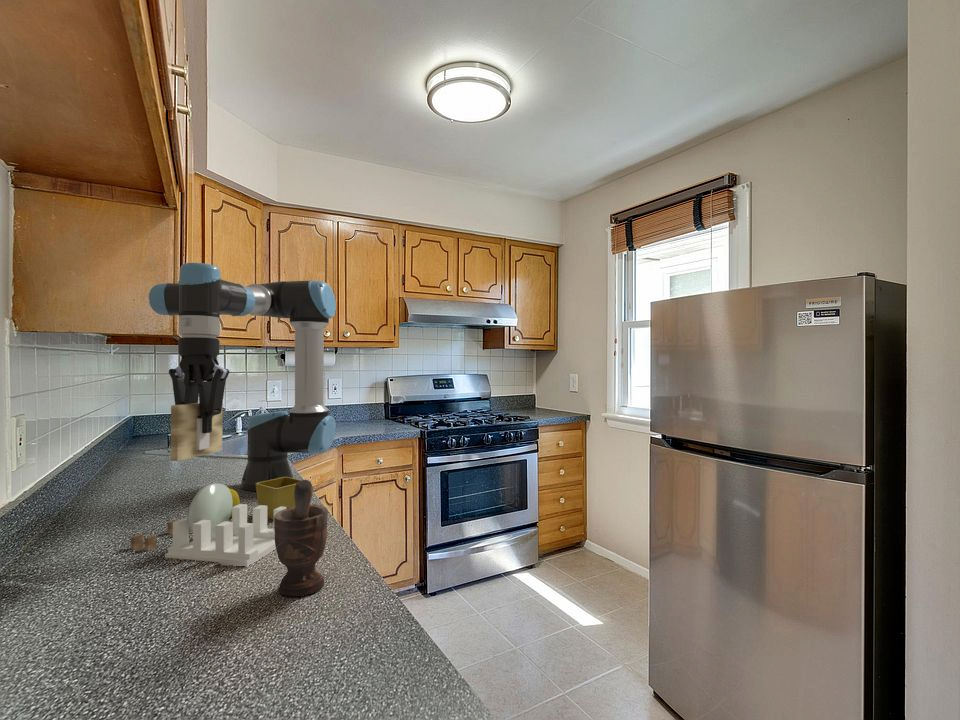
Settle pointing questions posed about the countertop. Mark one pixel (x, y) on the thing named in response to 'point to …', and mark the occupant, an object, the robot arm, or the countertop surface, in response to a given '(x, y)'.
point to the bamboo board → (192, 432)
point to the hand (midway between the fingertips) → (198, 448)
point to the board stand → (149, 539)
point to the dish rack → (226, 538)
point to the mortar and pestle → (301, 542)
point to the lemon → (234, 498)
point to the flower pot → (276, 493)
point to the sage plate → (211, 506)
